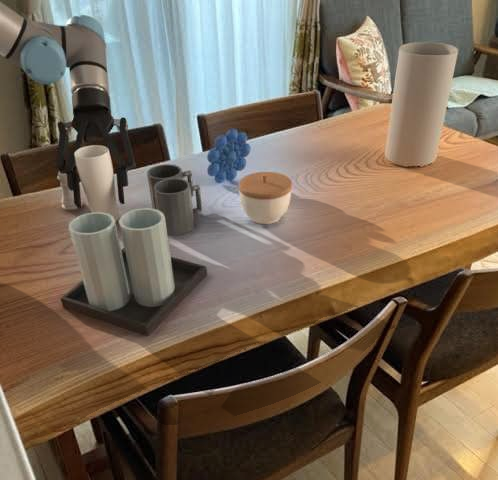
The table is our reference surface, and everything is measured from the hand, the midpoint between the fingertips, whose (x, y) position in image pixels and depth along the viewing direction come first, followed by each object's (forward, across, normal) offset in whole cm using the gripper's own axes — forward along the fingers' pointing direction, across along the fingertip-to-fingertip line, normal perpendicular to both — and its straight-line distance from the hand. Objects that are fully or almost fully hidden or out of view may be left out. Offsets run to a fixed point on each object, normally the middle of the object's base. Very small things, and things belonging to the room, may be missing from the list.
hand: (99, 203), depth 107 cm
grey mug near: (+5, -16, -3) cm, 17 cm away
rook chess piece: (-4, +8, -12) cm, 15 cm away
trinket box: (+5, -33, -3) cm, 34 cm away
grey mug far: (0, -14, -8) cm, 17 cm away
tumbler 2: (+22, -10, +14) cm, 28 cm away
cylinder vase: (-12, -73, -20) cm, 77 cm away
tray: (+20, -7, +12) cm, 25 cm away
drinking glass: (+2, 0, -6) cm, 7 cm away
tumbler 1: (+22, -3, +14) cm, 26 cm away
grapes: (-9, -27, -17) cm, 34 cm away
